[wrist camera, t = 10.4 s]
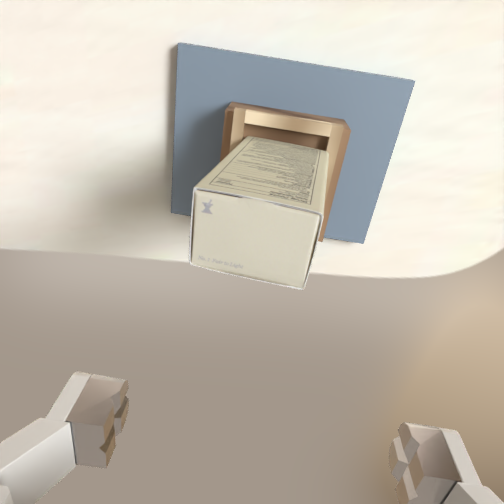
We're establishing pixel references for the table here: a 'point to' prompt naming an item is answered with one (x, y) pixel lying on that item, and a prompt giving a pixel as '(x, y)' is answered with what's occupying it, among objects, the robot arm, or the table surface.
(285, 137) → the walnut tray
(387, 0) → the table surface
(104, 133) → the table surface
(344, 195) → the blue board
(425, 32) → the table surface
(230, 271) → the skincare box
